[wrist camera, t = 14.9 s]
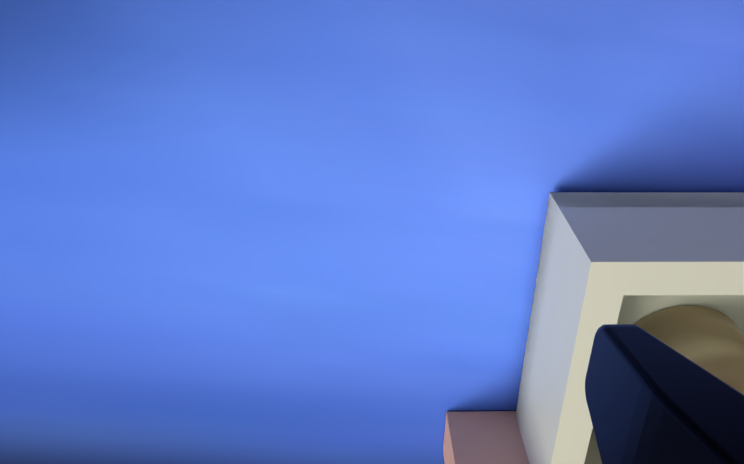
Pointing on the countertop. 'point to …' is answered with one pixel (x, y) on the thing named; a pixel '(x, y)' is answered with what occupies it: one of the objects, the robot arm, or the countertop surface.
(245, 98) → the countertop surface
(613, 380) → the robot arm
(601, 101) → the countertop surface
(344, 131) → the countertop surface
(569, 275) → the cradle
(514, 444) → the backstop wall
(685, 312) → the dowel
